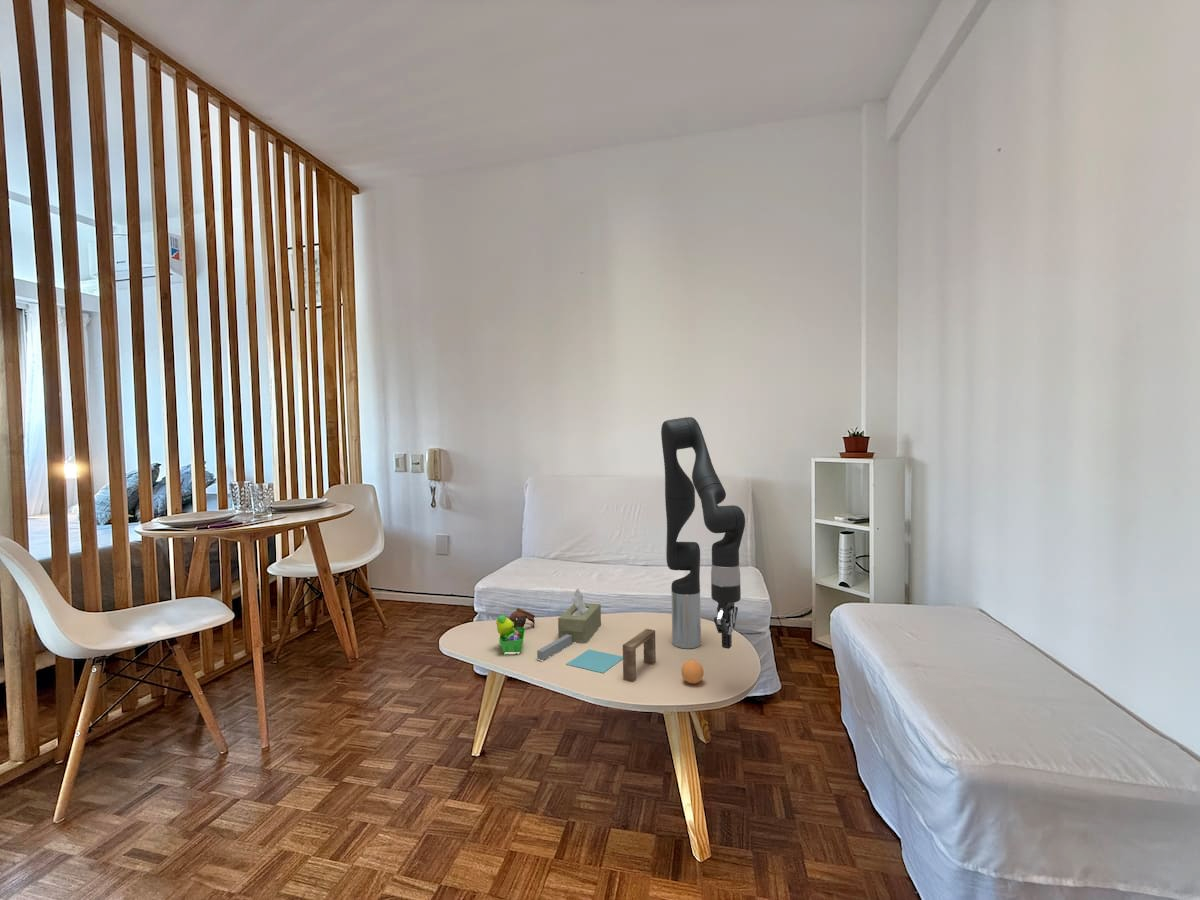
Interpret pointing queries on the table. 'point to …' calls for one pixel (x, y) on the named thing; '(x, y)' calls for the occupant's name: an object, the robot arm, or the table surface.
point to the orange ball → (692, 671)
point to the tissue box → (580, 620)
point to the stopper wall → (554, 647)
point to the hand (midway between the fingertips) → (726, 647)
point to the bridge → (630, 653)
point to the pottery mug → (521, 618)
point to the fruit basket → (509, 635)
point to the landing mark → (595, 661)
